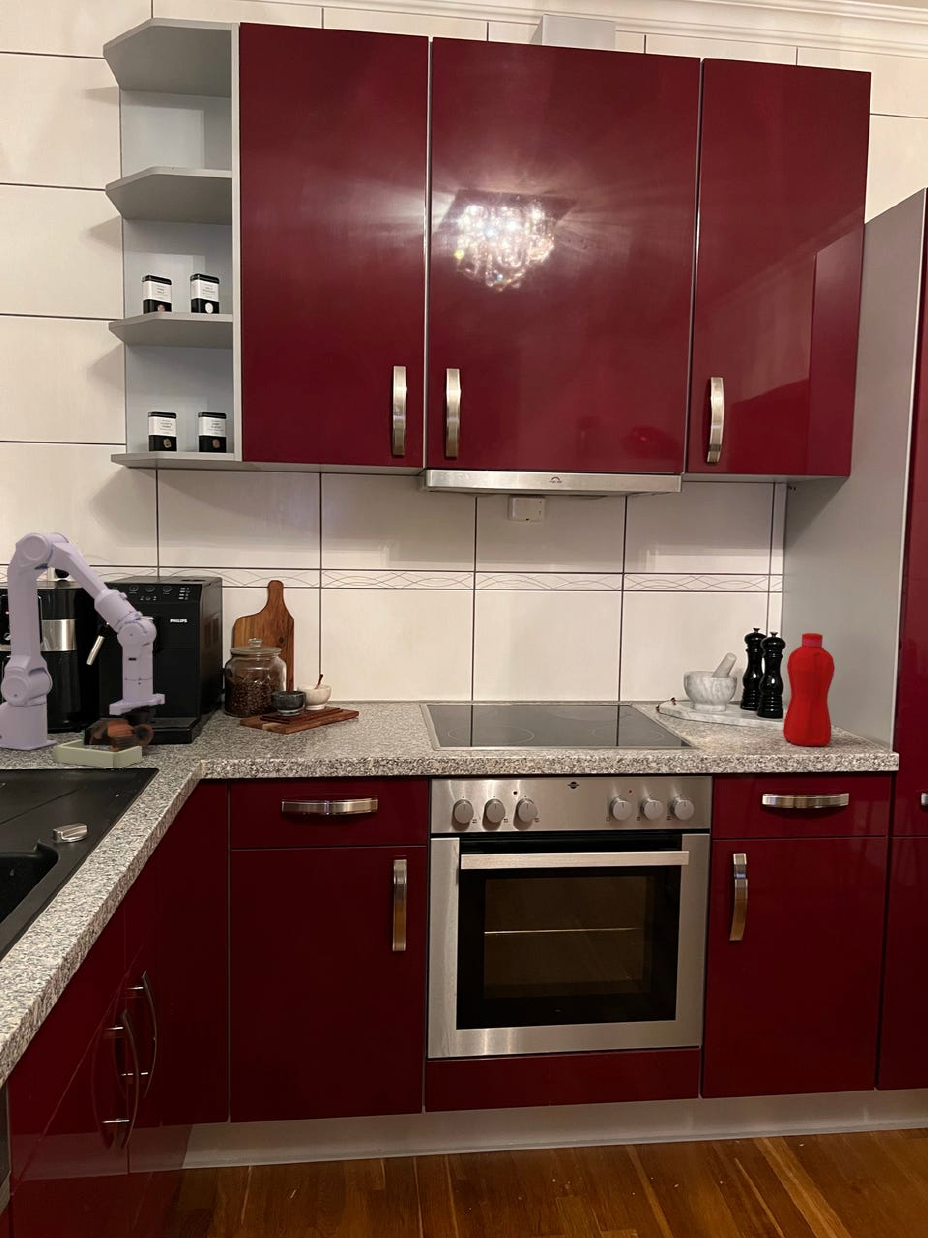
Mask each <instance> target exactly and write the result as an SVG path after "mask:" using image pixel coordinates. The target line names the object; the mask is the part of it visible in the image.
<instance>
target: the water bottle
mask: <svg viewBox="0 0 928 1238" xmlns="http://www.w3.org/2000/svg"><path fill="white" fill-rule="evenodd" d="M787 659H788V660H787V665H786V670H787V674H788V680H789V687H790V699H789V703H788V706H787V711H786V713H785V717H784V721H783V727H782V728H783V729H782V733H783V734H782V735H783V738H784V739H785V740H786V741H787V740H788V741H787V742H789V741H790V743H791V744H792V745H796V746H799V747H800V746H801V747H826V746H828V745H829V744H830V742H831V739H832V721H831V716H830V709H829V704H828V697H829V691H830V688H831V685H832V681H833V679H834V675H835V669H836V667H835V662H834V661H835V660H834V657H833V656H832V655H831V653H830V652H829V651H828V650H826V649H825V648H823V634H820V633H818V632H816V633H815V632H809V633H808V632H806V633H803V634H801V646H799V647H797V648H795V649H794V650H792V651H791V653H790V654H789V656H788V658H787Z"/></svg>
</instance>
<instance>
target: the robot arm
mask: <svg viewBox="0 0 928 1238" xmlns="http://www.w3.org/2000/svg"><path fill="white" fill-rule="evenodd" d="M51 568H53V569H56V570H61V571H64V572H66V573H68V575H69V576H70V577H71V578H73V579H74V580H75V581H76V582H77V584H78V585H80V586H81V588H83V589H84V590H85V591H86V592H87V593H88V594H89V595H90V597H92V598H93V599H94V609H95V611H96V612H98V614H99V615H100V616H101V617H102V618H103V619H104V620H105V622H107V624H108V625H109V626H110V627H111V628H112V629H113V630H114V631H115V632H116V633H117V635H116V637H117V641H118V643H119V644H120V646H121V647H122V699H121V700H118V701H117V702H114V703H111V704H109V715H116V716H121V719H125V720H128V723H129V725H130V726H137V725H140V724H148V725H149V726H151V725H150V724H151V723H152V719H153V718H154V717H155V715H156V711H157V709H156V708H153V707H151V706H155V705H156V706H157V705H163V704H165V694H162V693H155V694H154V693H153V692H154V689H153V688H154V687H153V683H154V682H153V674H154V673H153V642H154V641H155V639H156V637H157V628H156V626H155V624H154V623H153V620H151V619H150V618H148V617H142V616H143V613H142V612H141V611H137V609H135V607H134V606H132V605H131V603H130V602H129V601H128V600H127V598H128V596H127V595H126V593H125V592H120V591H119V590H117V589H109V588H108V587H107V585H106V584H105V582H103V580H102V579H101V578H100V577H99V576H98V574H97V573H96V572H95V570H94V569H93V568H92V567H91V566H90V564H89V563H88V562H87V561H86V559H84V557H83V556H82V555H81V553H80V552H79V550H78V549H77V546H76V545H75V544H73V543H72V542H70V541H69V539H68V538H67V537H66V535H64V534H62V533H60V532H50V533H49V532H47V533H46V532H36V531H35V532H34V531H33V532H28V533H27V534H25V535H24V536H23V537H21V539H19V540H18V541H17V542H15V551H14V554H13V555H12V557H11V560H10V562H9V564H8V567H7V569H6V578H7V579H6V580H7V581H6V583H7V597H8V598H7V599H8V600H7V601H8V615H9V617H8V619H9V635H10V636H9V637H10V655H11V656H10V659H9V660H8V662H7V664H6V665H5V667H4V668H3V669H4V675H3V676H4V677H3V680H2V682H1V684H0V692H1V695H2V698H3V699H4V700H5V701H4V702H3V703H1V704H0V748H2V749H3V748H4V749H12V750H13V749H14V750H21V751H32V750H36V749H40V748H43V747H47V746H50V745H54V744H58V741H57V740H53V739H48V715H47V714H48V709H47V707H48V706H47V705H48V703H47V695H48V694H49V692H51V690H52V687H53V679H52V676H51V674H50V673H49V670H48V665H47V664H48V663H47V661H46V660H45V659H44V657H43V656H42V654H41V641H40V640H41V638H40V620H39V619H40V618H39V604H38V603H39V599H38V598H39V597H38V584H37V582H38V581H37V580H38V578H39V577H40V576H42V575H43V574H44V573H45V572H46V571H47V570H48V569H51ZM131 732H132V734H133V735H134V732H133V731H131ZM145 736H146V732H145V731H143V732H142V733H141V735H140V737H139V738H140V740H143V739H144V738H145Z"/></svg>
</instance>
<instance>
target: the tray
mask: <svg viewBox="0 0 928 1238" xmlns="http://www.w3.org/2000/svg"><path fill="white" fill-rule="evenodd" d="M108 751H109V750H108ZM108 751H106V750H100V749H99V750H98V749H89V748H84V739H80V738H79V739H77V740H75V739H74V740H72V741H69V742H64V743H62V744H58V745H54V746H52V756H53V757H52V758H53V761H52V762H54V763H58V764H59V763H60V764H61V763H62V764H66V763H68V765H74V764H78V765H77V766H82V765H94V766H101V767H113V768H119V767H125V766H128V767H130V766H129V765H131V764H134V763H137V764H139V763H138V762H140V763H141V761H142V762H143V748H142V746H136V747H133V748H130V749H126V750H123V751H120V752H108ZM134 765H135V764H134ZM131 766H132V765H131ZM125 768H126V767H125Z"/></svg>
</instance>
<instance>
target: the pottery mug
mask: <svg viewBox="0 0 928 1238" xmlns="http://www.w3.org/2000/svg"><path fill="white" fill-rule="evenodd" d="M131 731H133V732H134V735H133V734H132V732H131ZM143 731H145V732H146V736H145V738H144V739H143V740H140V738H139V737H140V735H141V733H142V732H143ZM154 733H155V731H154V730H153V729H152V726H151V725H148V724H140V725H137V726H130V725H129V723H128V720H125V719H123V718H121V719H114V720H110V721H107V722H103V723H101V724H99V725H96V726H95V727H93V728H92V729H91V730H90V735H91V737H90V738H89V739H90V740H89V745H90V746H91V745H94V746H101V745H102V746H111V747H112V749H109V750H108V752H120V751H123V750H126V749H130V748H133V747H136V746H142V749H143V748H144V747H145V746H147V745H148V744H149V743H150V742H151V741H152V739H153V738H154Z"/></svg>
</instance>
